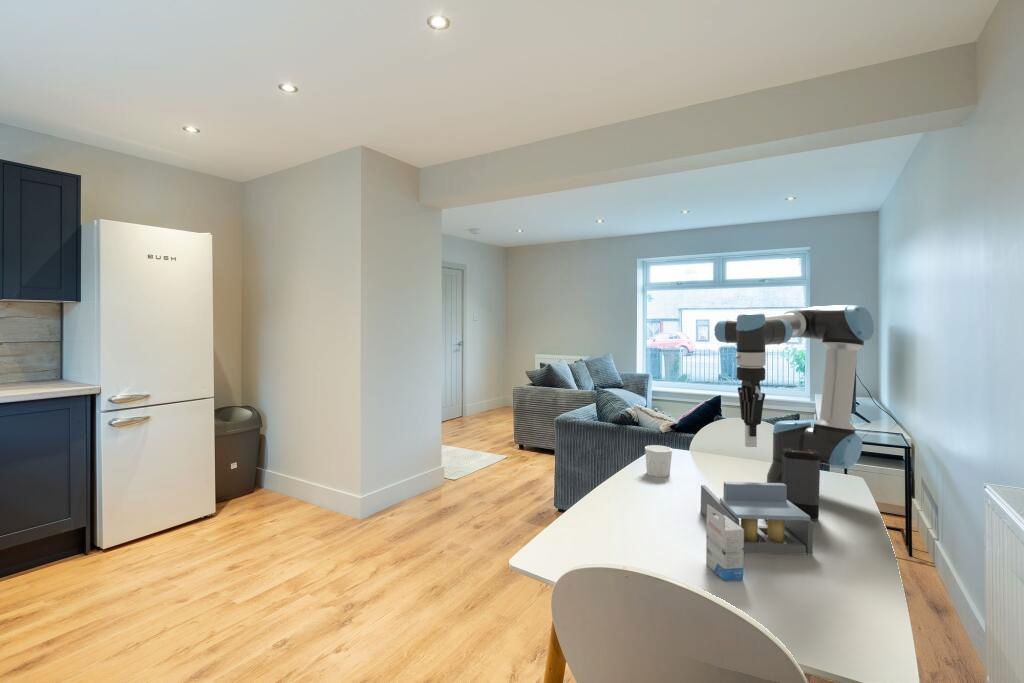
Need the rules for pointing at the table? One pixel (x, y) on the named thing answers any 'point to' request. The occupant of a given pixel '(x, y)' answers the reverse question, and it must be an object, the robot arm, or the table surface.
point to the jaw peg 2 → (776, 530)
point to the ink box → (724, 546)
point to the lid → (760, 501)
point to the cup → (658, 460)
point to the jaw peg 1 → (750, 529)
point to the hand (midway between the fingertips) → (750, 446)
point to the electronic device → (802, 479)
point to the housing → (794, 536)
